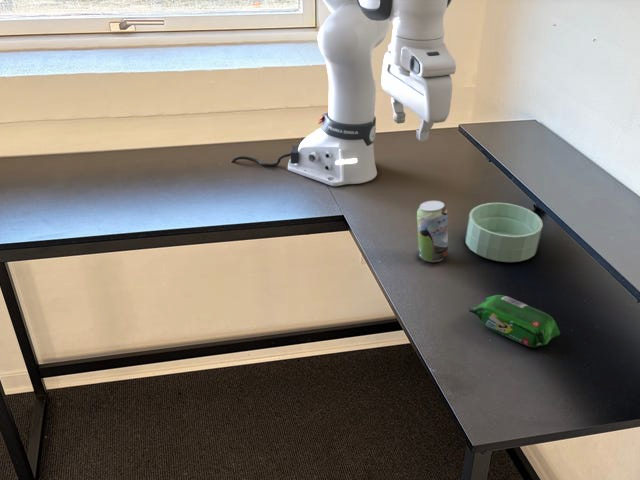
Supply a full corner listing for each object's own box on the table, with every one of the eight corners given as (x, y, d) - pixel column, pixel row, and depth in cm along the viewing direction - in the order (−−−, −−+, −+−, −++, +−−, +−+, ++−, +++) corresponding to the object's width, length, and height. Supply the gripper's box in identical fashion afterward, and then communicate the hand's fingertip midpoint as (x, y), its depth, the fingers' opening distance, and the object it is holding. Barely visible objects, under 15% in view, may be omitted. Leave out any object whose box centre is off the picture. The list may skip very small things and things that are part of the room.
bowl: (456, 253, 153) (460, 225, 149) (476, 223, 164) (481, 196, 160) (527, 271, 149) (533, 243, 145) (542, 239, 160) (549, 212, 156)
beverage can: (445, 267, 148) (453, 214, 141) (410, 262, 149) (416, 209, 142) (448, 252, 153) (456, 200, 146) (414, 247, 154) (420, 195, 147)
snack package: (484, 307, 138) (488, 283, 135) (559, 340, 131) (566, 316, 127) (464, 323, 133) (468, 300, 130) (541, 358, 126) (548, 334, 123)
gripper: (374, 37, 131) (371, 114, 140) (427, 69, 117) (420, 153, 125) (406, 35, 133) (400, 110, 142) (461, 66, 119) (452, 148, 127)
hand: (410, 130), depth 133 cm, fingers open, 8 cm apart
